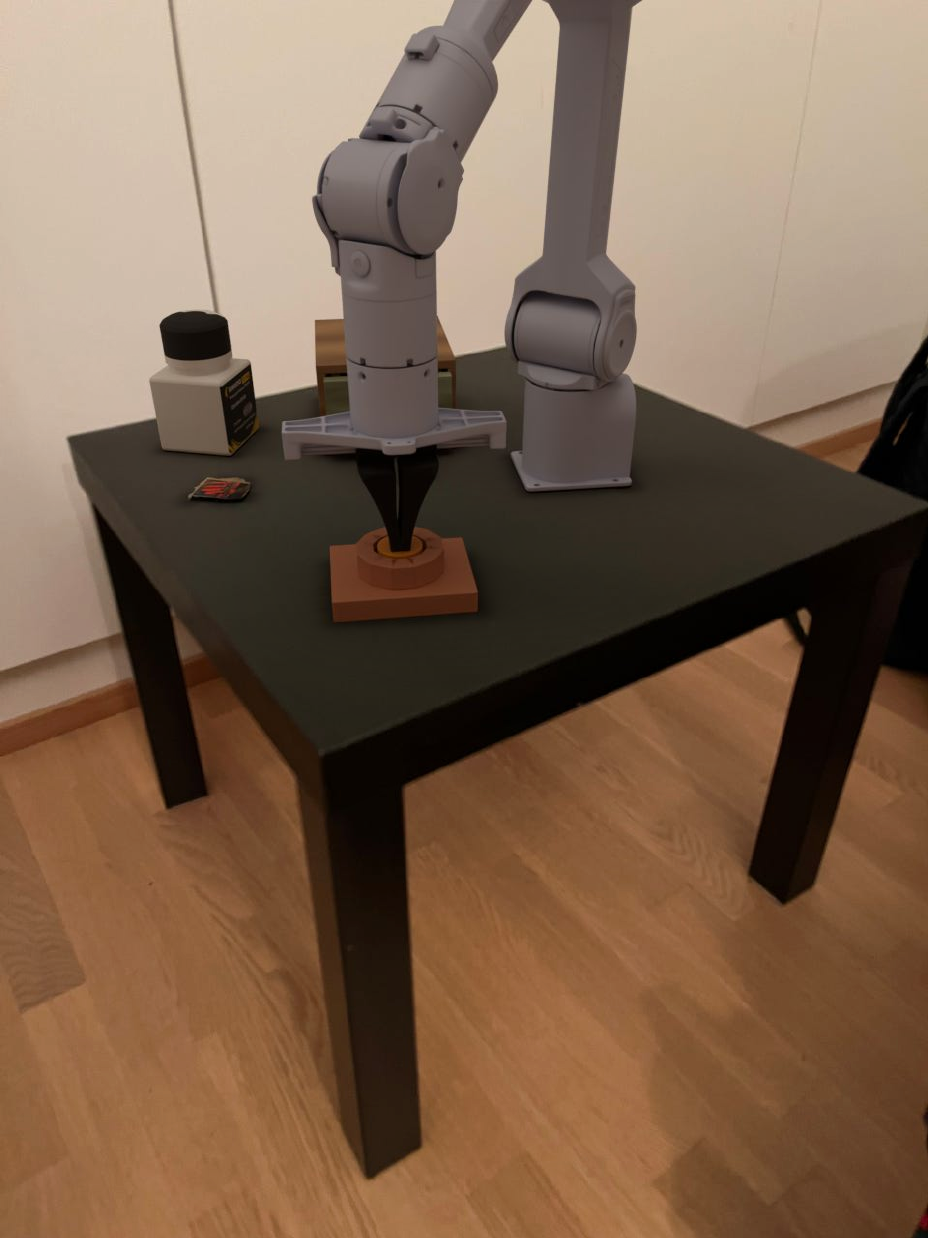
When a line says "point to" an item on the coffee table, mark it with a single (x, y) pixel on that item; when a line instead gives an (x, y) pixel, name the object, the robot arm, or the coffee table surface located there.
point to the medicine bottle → (202, 387)
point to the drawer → (339, 392)
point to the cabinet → (334, 360)
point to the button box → (401, 579)
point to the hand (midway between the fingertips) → (399, 545)
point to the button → (384, 551)
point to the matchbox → (221, 488)
